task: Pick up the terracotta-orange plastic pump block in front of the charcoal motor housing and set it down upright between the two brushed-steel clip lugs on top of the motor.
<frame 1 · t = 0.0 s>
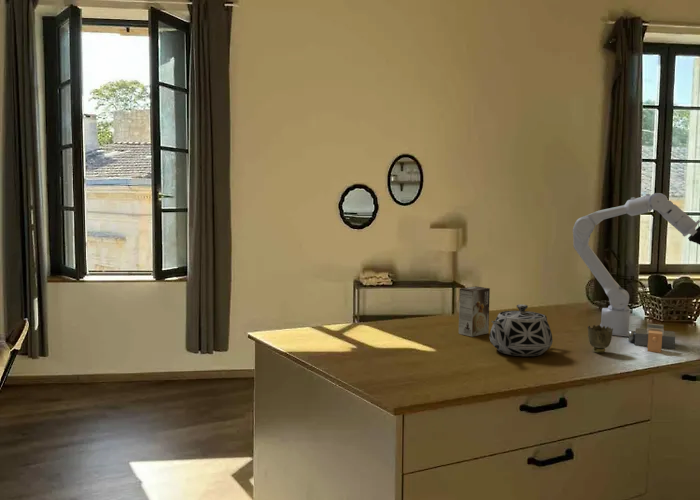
patterned lidded jar: (518, 353, 221), on the countertop
motor: (654, 344, 235), on the countertop
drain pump: (654, 350, 226), on the countertop
coffee box: (473, 334, 246), on the countertop
cup: (599, 352, 223), on the countertop
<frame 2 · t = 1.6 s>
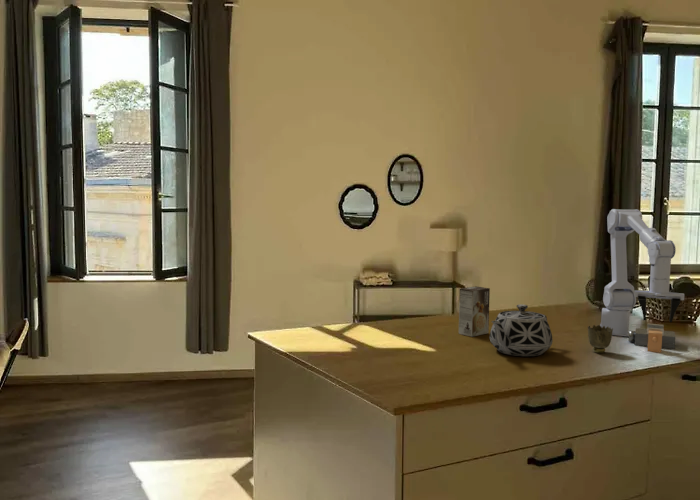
hand: (657, 320, 225), 10 cm above the countertop, tool pointing down, fingers open, 7 cm apart
nothing on the countertop moved.
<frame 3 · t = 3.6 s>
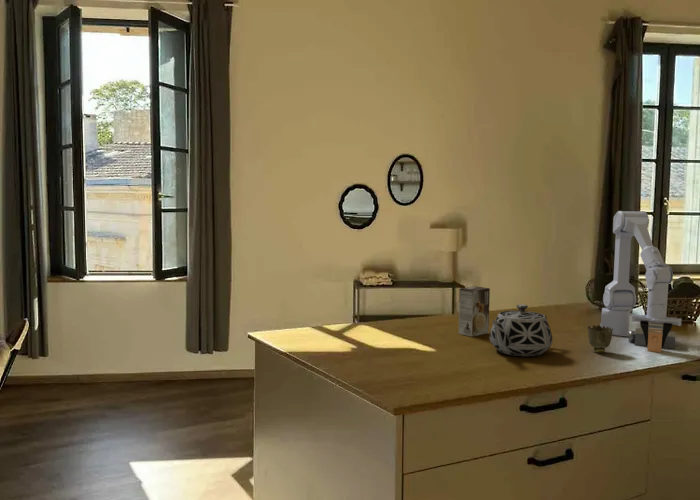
hand: (654, 345, 226), 2 cm above the countertop, tool pointing down, fingers closed on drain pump, 4 cm apart
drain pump: (654, 350, 226), on the countertop, touching gripper
everything else where it was.
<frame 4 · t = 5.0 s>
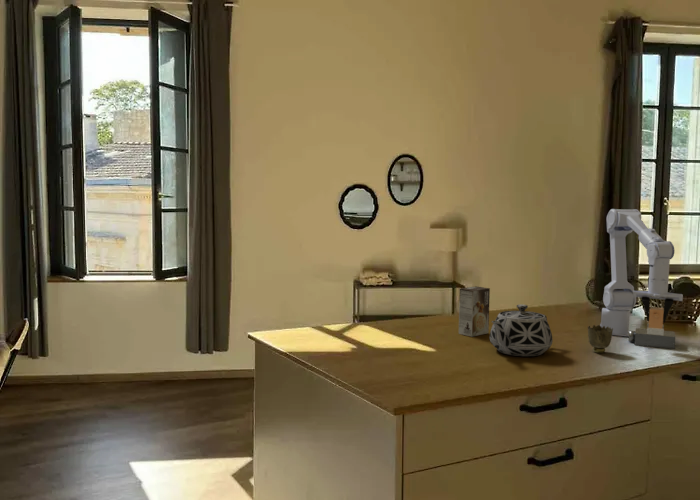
hand: (655, 321, 226), 9 cm above the countertop, tool pointing down, fingers closed on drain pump, 4 cm apart
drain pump: (655, 327, 226), point 7 cm above the countertop, touching gripper
everything else where it was.
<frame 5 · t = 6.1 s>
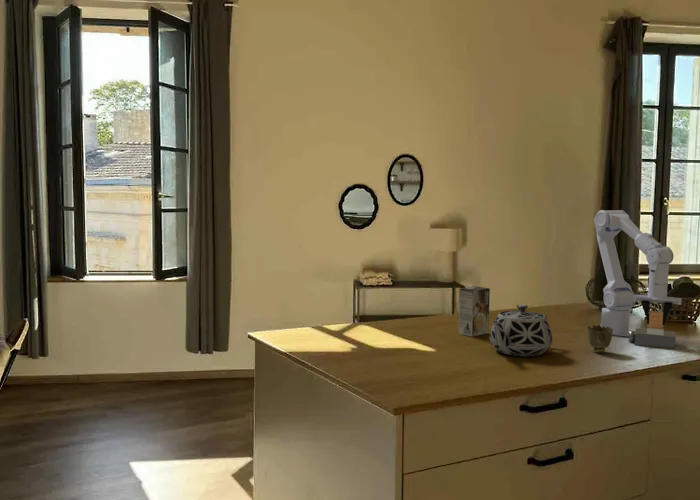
hand: (655, 324, 234), 7 cm above the countertop, tool pointing down, fingers closed on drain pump, 4 cm apart
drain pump: (655, 330, 234), point 5 cm above the countertop, touching gripper
everything else where it was.
when the fingers open (7 cm above the countertop, at t = 6.8 s): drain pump stays where it is, resting on motor.
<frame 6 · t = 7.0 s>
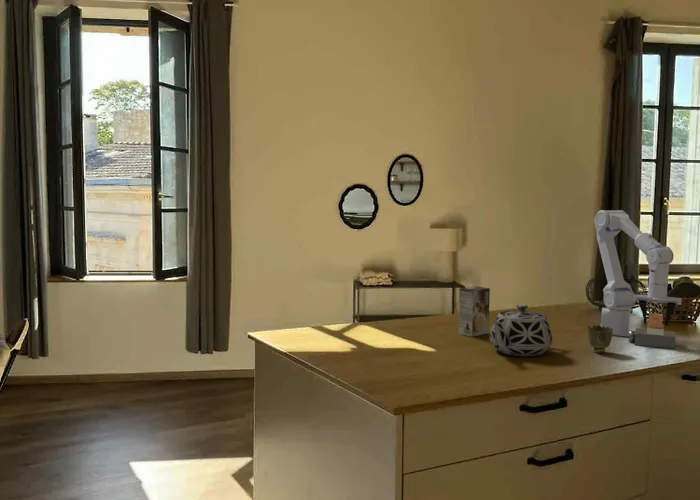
hand: (655, 324, 234), 7 cm above the countertop, tool pointing down, fingers open, 6 cm apart
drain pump: (655, 332, 234), point 4 cm above the countertop, touching motor
everything else where it was.
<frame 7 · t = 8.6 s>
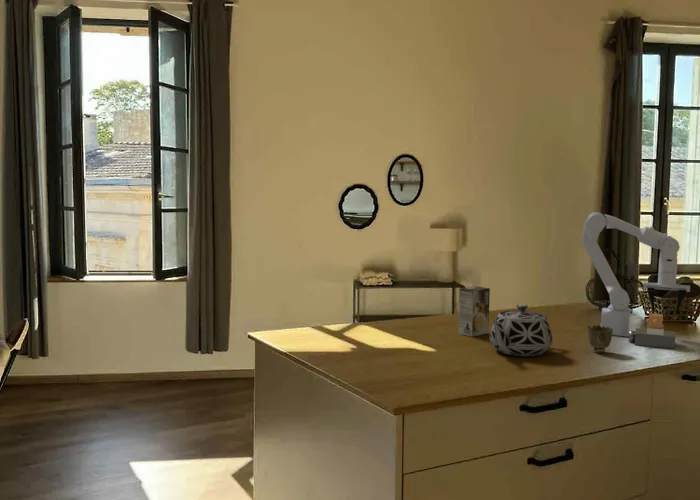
hand: (665, 310, 245), 9 cm above the countertop, tool pointing down, fingers open, 7 cm apart
nothing on the countertop moved.
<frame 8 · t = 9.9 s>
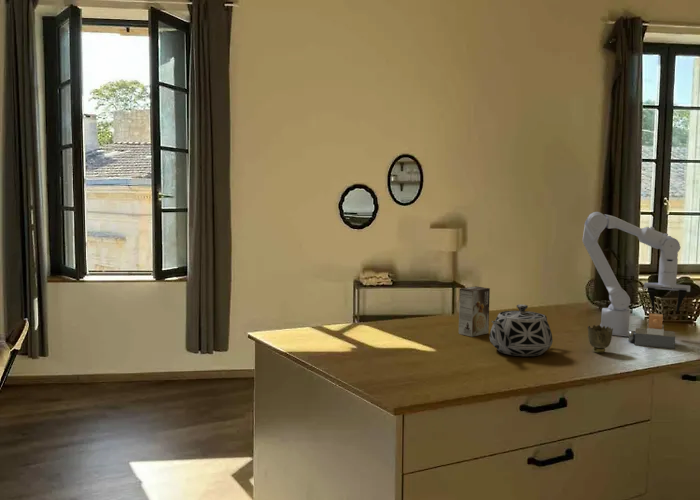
hand: (665, 310, 245), 9 cm above the countertop, tool pointing down, fingers open, 7 cm apart
nothing on the countertop moved.
at the end: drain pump 0.4 cm off-centre on the motor, point 4.0 cm above the motor's base; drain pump tilted 0°; the gripper is holding nothing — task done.
